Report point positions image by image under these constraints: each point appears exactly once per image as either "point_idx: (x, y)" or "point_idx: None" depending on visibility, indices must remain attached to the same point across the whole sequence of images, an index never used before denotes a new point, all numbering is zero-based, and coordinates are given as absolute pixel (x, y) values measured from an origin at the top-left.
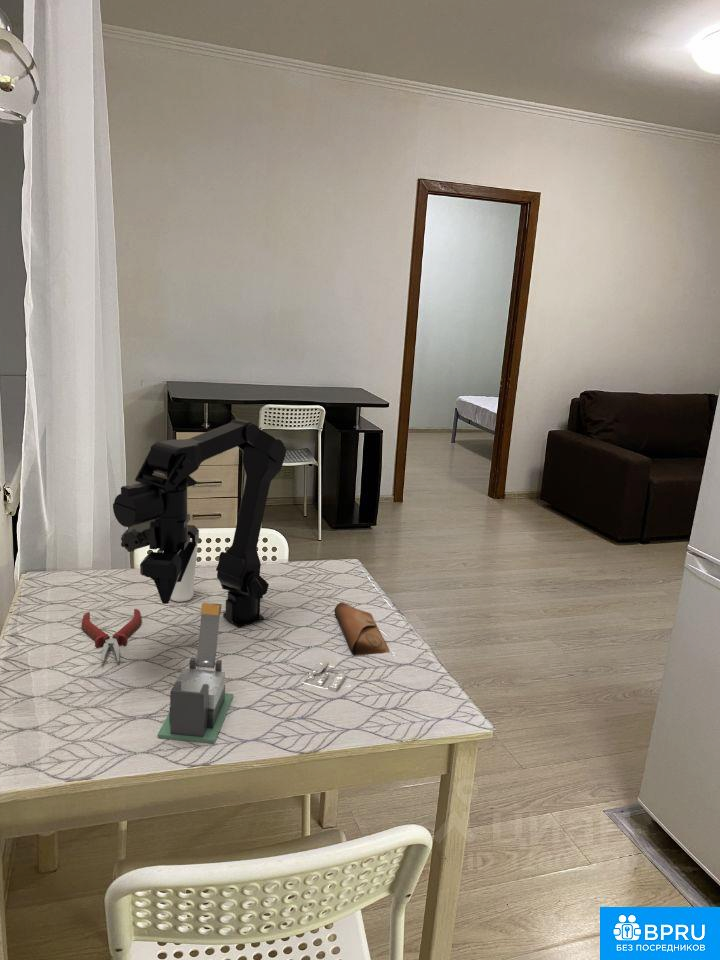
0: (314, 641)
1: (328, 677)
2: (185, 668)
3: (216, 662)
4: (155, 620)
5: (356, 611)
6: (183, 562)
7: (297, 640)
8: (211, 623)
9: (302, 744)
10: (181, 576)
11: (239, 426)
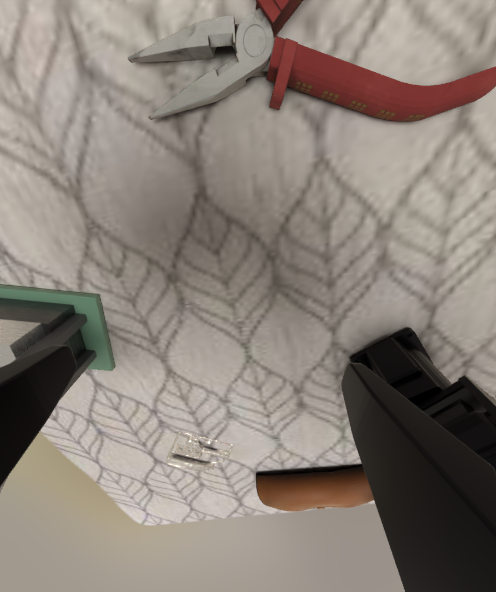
0: (293, 443)
1: (198, 452)
2: (10, 349)
3: None
4: (426, 165)
5: (344, 505)
6: (416, 567)
7: (296, 427)
8: None
9: (49, 432)
10: (352, 420)
11: None
